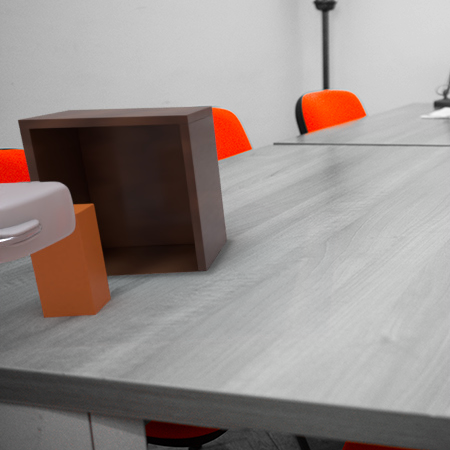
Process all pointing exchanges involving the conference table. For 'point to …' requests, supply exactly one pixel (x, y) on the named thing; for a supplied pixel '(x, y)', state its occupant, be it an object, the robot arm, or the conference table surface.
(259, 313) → the conference table surface
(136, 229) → the cubby
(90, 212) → the block
